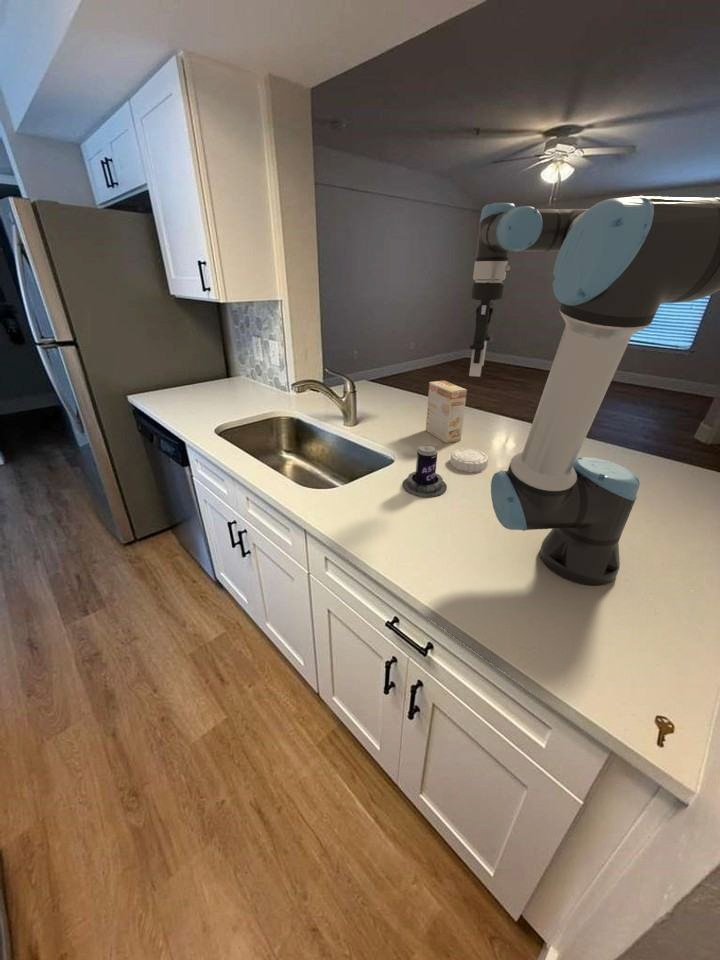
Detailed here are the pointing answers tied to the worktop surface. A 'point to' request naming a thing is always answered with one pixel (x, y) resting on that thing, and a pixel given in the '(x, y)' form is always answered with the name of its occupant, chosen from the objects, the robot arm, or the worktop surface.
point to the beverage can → (426, 465)
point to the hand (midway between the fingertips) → (476, 370)
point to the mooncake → (469, 460)
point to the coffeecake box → (445, 410)
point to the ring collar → (424, 487)
